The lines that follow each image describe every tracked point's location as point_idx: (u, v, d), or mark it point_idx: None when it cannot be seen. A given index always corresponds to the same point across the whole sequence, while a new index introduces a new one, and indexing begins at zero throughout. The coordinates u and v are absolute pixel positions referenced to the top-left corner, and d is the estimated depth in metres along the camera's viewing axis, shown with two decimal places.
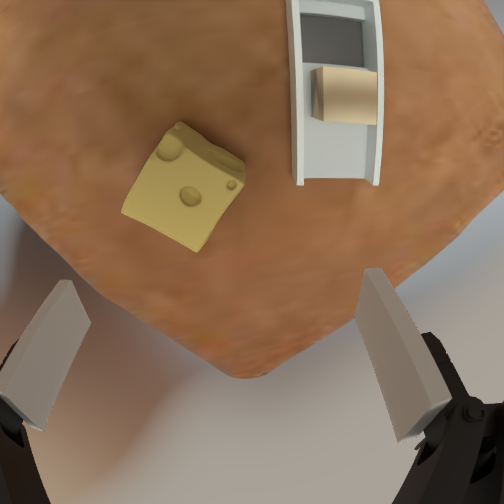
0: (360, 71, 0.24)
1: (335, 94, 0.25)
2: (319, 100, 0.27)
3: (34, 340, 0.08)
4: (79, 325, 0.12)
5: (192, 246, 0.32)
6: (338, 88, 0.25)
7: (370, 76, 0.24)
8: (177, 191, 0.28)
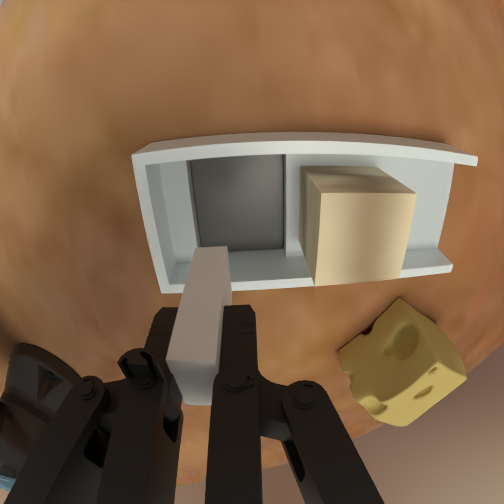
0: (322, 226, 0.16)
1: (362, 266, 0.17)
2: None
3: None
4: None
5: (460, 383, 0.23)
6: (352, 262, 0.17)
7: (331, 206, 0.15)
8: (413, 401, 0.24)
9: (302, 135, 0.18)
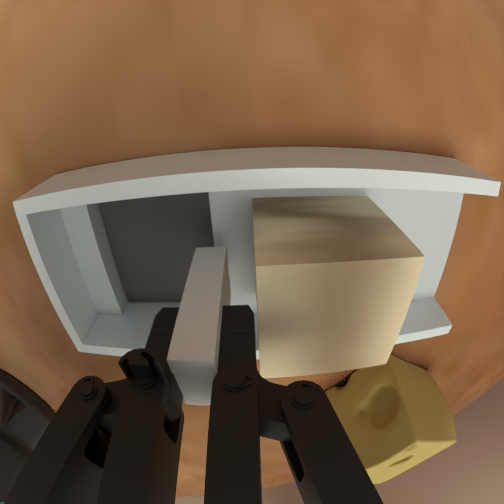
0: (262, 312, 0.10)
1: (331, 356, 0.11)
2: None
3: None
4: None
5: None
6: (315, 352, 0.11)
7: (274, 285, 0.09)
8: (388, 468, 0.18)
9: (226, 157, 0.12)
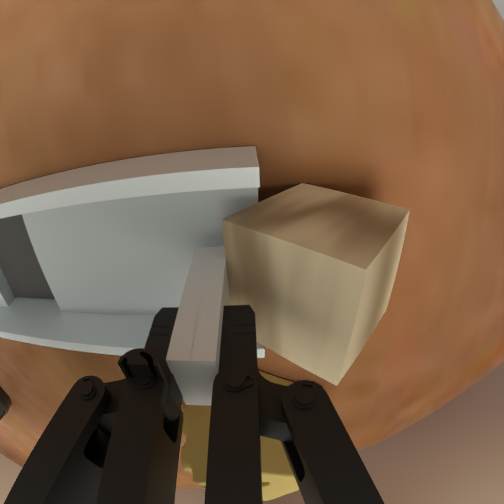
0: (358, 314, 0.09)
1: (371, 325, 0.12)
2: None
3: None
4: None
5: None
6: (367, 329, 0.12)
7: (368, 281, 0.09)
8: None
9: (18, 189, 0.12)
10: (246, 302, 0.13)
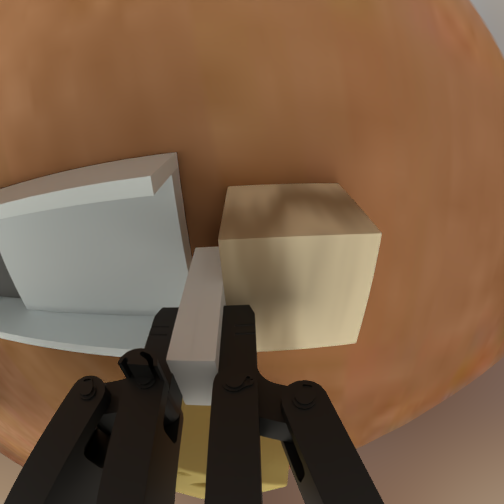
0: None
1: None
2: None
3: None
4: None
5: (276, 487, 0.17)
6: None
7: None
8: (199, 488, 0.18)
9: None
10: None
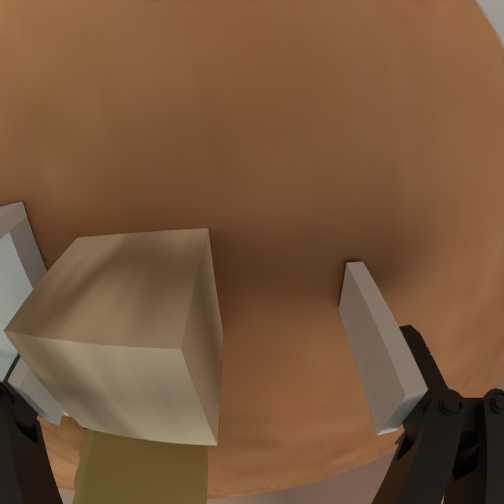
0: (197, 388, 0.07)
1: (216, 367, 0.11)
2: None
3: None
4: None
5: None
6: (214, 377, 0.10)
7: (190, 350, 0.07)
8: None
9: None
10: (76, 405, 0.08)
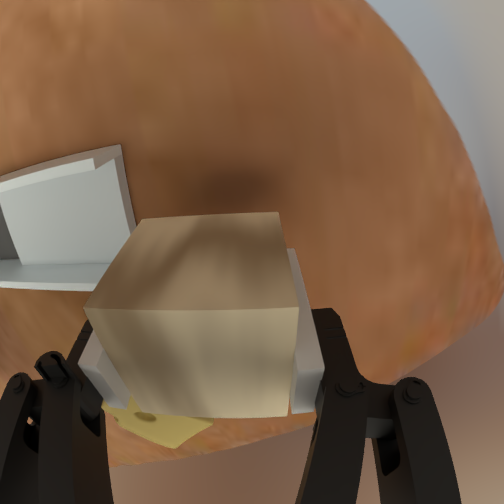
0: None
1: None
2: None
3: None
4: None
5: (204, 425, 0.23)
6: None
7: None
8: (142, 422, 0.24)
9: None
10: (149, 385, 0.09)
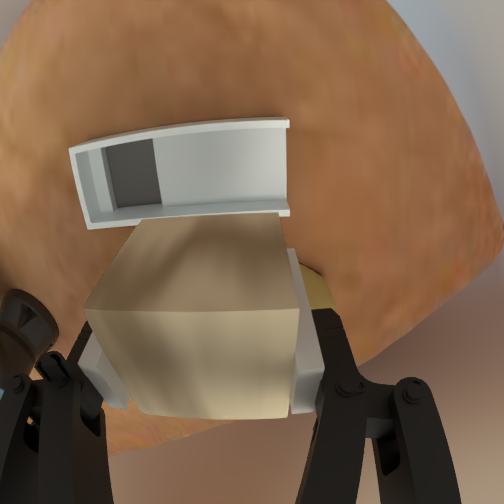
0: (294, 352, 0.08)
1: None
2: None
3: None
4: None
5: None
6: None
7: None
8: None
9: (158, 128, 0.29)
10: (148, 387, 0.09)
